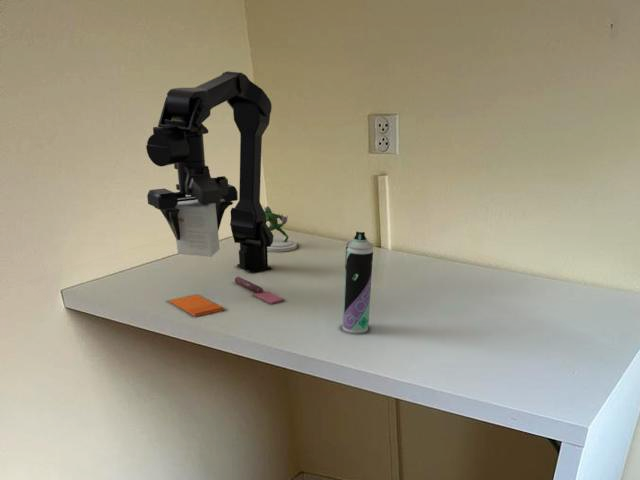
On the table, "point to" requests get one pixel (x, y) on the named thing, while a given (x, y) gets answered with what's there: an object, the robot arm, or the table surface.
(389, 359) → the table surface
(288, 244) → the monster figurine
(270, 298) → the spatula
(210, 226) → the small box
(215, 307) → the orange flat block
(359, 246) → the spray can
